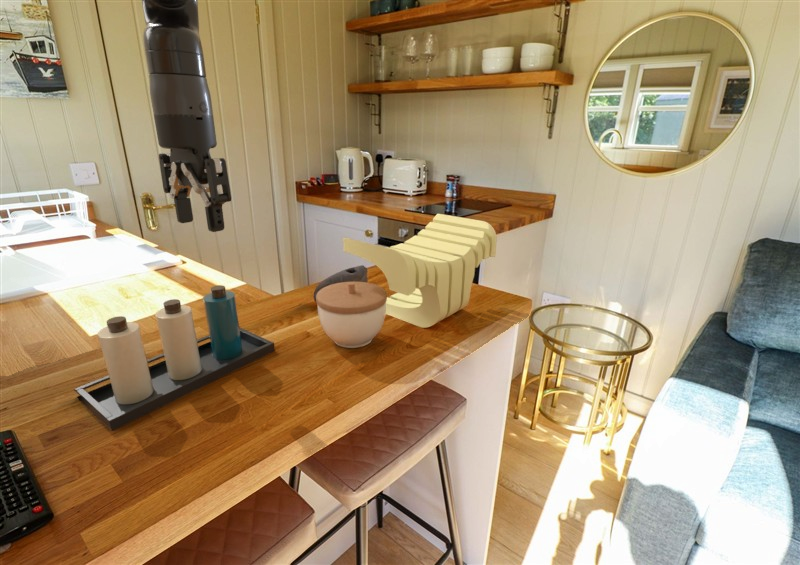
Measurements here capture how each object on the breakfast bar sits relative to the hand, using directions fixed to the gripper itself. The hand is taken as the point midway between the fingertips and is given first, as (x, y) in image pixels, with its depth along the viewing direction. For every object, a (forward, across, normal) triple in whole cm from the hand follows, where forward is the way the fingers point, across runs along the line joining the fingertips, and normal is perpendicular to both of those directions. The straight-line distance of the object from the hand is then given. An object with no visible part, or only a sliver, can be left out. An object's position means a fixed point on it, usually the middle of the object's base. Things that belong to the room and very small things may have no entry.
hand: (200, 226), depth 65 cm
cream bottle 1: (+22, +1, -14) cm, 26 cm away
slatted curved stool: (+22, +18, +37) cm, 47 cm away
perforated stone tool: (+23, 0, +30) cm, 38 cm away
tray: (+23, +1, -7) cm, 24 cm away
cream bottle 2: (+22, +1, -7) cm, 23 cm away
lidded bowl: (+23, +14, +18) cm, 32 cm away
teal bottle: (+22, +1, +1) cm, 22 cm away
